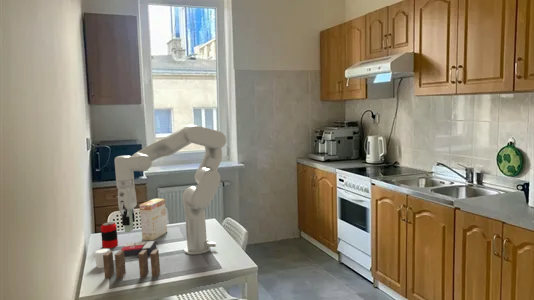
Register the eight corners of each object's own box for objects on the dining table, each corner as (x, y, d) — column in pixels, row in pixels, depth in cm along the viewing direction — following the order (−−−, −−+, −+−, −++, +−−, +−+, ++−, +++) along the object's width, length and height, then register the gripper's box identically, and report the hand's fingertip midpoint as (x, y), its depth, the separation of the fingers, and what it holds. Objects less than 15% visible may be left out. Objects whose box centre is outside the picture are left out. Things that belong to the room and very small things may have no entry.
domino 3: (133, 228, 189) (131, 207, 188) (129, 232, 184) (127, 210, 183) (129, 228, 189) (127, 207, 188) (124, 232, 184) (123, 210, 183)
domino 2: (125, 272, 179) (123, 250, 178) (121, 277, 174) (119, 254, 173) (121, 273, 179) (119, 250, 178) (116, 277, 174) (114, 254, 173)
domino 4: (148, 272, 178) (146, 249, 177) (144, 277, 173) (143, 253, 172) (144, 272, 178) (142, 249, 177) (140, 277, 173) (138, 254, 172)
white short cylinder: (94, 269, 184) (92, 254, 184) (96, 264, 191) (94, 249, 190) (110, 267, 186) (109, 252, 186) (111, 261, 193) (110, 247, 192)
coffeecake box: (157, 231, 238) (154, 198, 236) (167, 232, 236) (165, 198, 234) (141, 239, 224) (138, 204, 222) (152, 240, 222) (150, 204, 220)
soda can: (104, 249, 210) (102, 226, 209) (100, 246, 217) (98, 223, 215) (119, 246, 215) (117, 223, 214) (115, 242, 221) (113, 220, 220)
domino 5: (160, 271, 178) (158, 249, 177) (156, 276, 173) (154, 253, 172) (155, 272, 178) (153, 249, 177) (151, 276, 173) (150, 253, 172)
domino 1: (114, 273, 179) (112, 250, 178) (109, 278, 174) (107, 255, 173) (109, 273, 179) (107, 251, 178) (104, 278, 174) (102, 255, 173)
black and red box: (125, 242, 209) (155, 239, 210) (126, 251, 210) (156, 247, 211) (119, 250, 199) (150, 246, 199) (120, 259, 199) (151, 255, 200)
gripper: (126, 187, 175) (129, 228, 177) (140, 179, 192) (143, 218, 194) (108, 187, 176) (112, 229, 178) (124, 180, 193) (127, 218, 195)
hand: (128, 223), depth 186 cm, fingers closed on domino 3, 4 cm apart
